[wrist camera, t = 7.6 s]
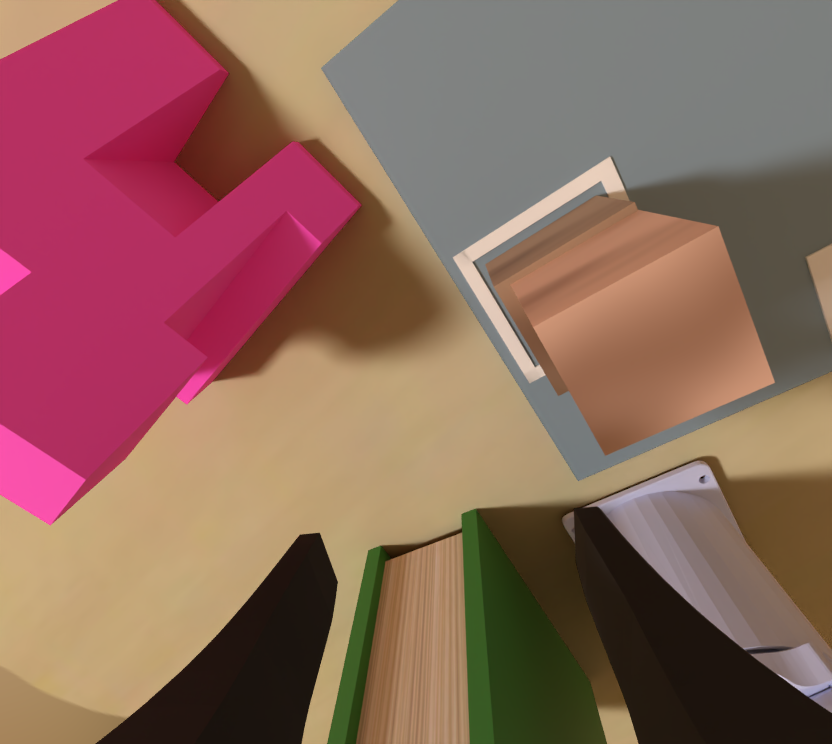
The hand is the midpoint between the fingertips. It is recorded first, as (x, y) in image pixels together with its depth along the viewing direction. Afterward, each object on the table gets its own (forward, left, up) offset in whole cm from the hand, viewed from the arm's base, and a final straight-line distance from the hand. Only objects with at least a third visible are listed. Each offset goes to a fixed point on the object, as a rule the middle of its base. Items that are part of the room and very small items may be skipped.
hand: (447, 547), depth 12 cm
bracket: (+13, +6, -11) cm, 18 cm away
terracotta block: (+2, -7, -6) cm, 9 cm away
